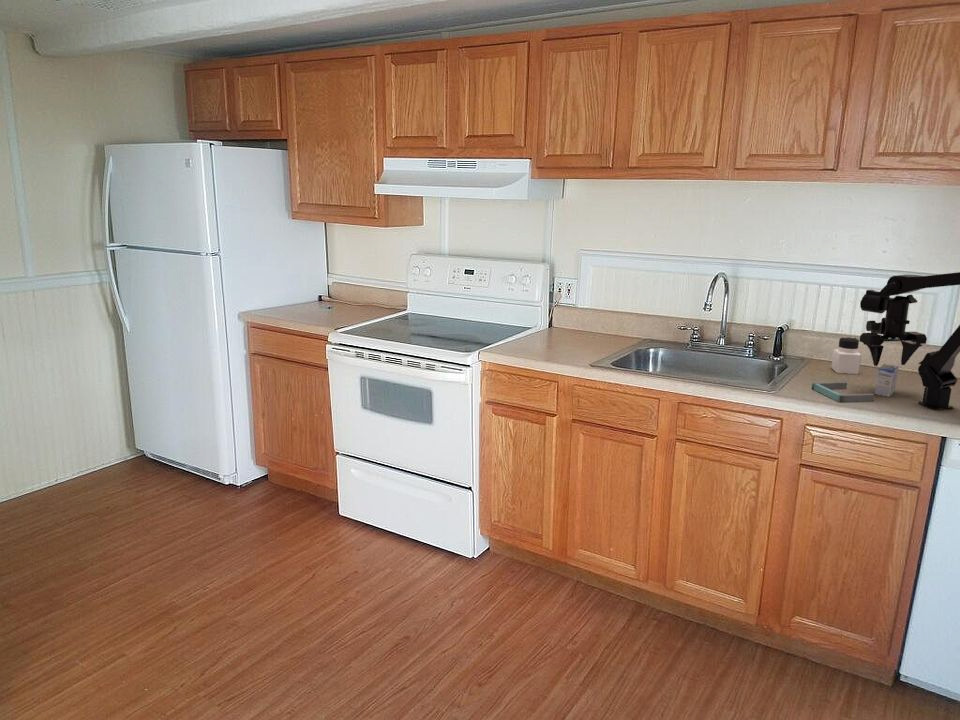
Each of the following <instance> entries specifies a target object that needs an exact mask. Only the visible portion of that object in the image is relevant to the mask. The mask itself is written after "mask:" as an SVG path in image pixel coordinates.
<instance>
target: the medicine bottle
mask: <svg viewBox="0 0 960 720" xmlns="http://www.w3.org/2000/svg"><path fill="white" fill-rule="evenodd" d="M859 344H860V339H858V338H857V337H853V336H851V337H850V336H842V337H840V338H839V341H838V347H837V348H834V349H833V357H832V363H831V369H833V371H834V372H836V373H837V374H844V373H847V375H848V374H849V375H859V374H860V370H861V362H862V361H861V360H862V354H861V353H860V352H859V351H858V350H859Z"/></svg>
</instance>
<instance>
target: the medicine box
mask: <svg viewBox="0 0 960 720" xmlns="http://www.w3.org/2000/svg"><path fill="white" fill-rule="evenodd" d="M898 375H899V365H894V364H891V363H883V364H882V365H881V366H880V367H879V368H878V369H877V375H876V382H875V388H874V395H875V394H877V395H876V396H880V395H882V396H881V397H885V396H887V398H890V397H891V396H892V395H893V393H894V392H895V391H896V386H897V382H898V381H897V380H898Z"/></svg>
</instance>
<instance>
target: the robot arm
mask: <svg viewBox="0 0 960 720" xmlns="http://www.w3.org/2000/svg"><path fill="white" fill-rule="evenodd" d="M952 286H960V271H959V272H957V271H956V272H950V273H943V274H942V273H941V274H932V275H931V274H930V275H917V274H899V275H898V274H897V275H892V276H890V277H889V278H888V280H887V282H886V285H885V286H883V288H882V289H881V290H880V291H879V290H874V289H866V290H865V294H864V295H863V296H862V298H861V300H860V305H859V307H860V309H861V311H862V312H868V313H869V312H870V313H874V314H875V313H876V314H884V313H885V317H882V319H881V321H880V322H876V320H867V321H866V324H865V330H866V332H862V333H861V334H860V337H859V343H863V345H865V346H866V347H868V349H869V352H870V355H871V359H872V361H873V366H876V367H878V365H879V363H880V360H881V356H882V353H883V350H884V345H882V344H883V343H884V342H900V343H901V346H902V351H901V358H900V359H901V360H900V364H901V366H905V365H906V364H907V363H908V361H909V360H910V359H911V357H912V356H913V354H915V352H917V350H918V349H919V348H920V347H922V346H923V345H924V344H927V341H928V337H927V335H926V334H925V333H921V332H918V331H914V330H913V331H906V328H907V327H906V326H907V325H910V322H911V321H910V320H908V313H909V306H910V304H916V303H918V300H917V299H916V298H915V297H914V295H913V294H910V293H914V292H918V291H920V290H923V289H929V288H939V287H952ZM904 294H907V295H906V296H905V295H904ZM903 295H904V296H903ZM893 296H894V297H893ZM959 354H960V324H959V325H958V326H957V328H955V330H954V331H953V333H952V334H951V335H950V336H949V338H948V339H947V340H946V342H945V343H944V344H943V345H942V347H940V349H939V350H936V351H930V352H927V353H926V354H925V355H924V357H923V359H922V360H921V361H920V362H918V365H919V366H918V369H917V371H918V375H919V377H920V379H921V383H922V386H923V387H924V391H923V397H922V400H918V404H920V405H923V406H924V407H927V408H929V409H932V410H948V409H951V410H952V409H954V406H952V405H950V398H951V396H952V394H951V393H952V388H951V387H955V385H956V384H957V382H958V378H957V377H956V375H954V373H953V372H952V369H953V368H954V365H955V361H956V359H957V356H958V355H959Z"/></svg>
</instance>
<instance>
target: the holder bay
mask: <svg viewBox="0 0 960 720" xmlns="http://www.w3.org/2000/svg"><path fill="white" fill-rule="evenodd" d="M847 386H848V382H847V381H827V382H812V384H811V390H813V389H814V391H815V390H816V392H817V391H818V392H817V393H819V392H820V393H819V394H821V393H822V394H821V395H823V394H824V396H825V395H826V396H825V397H827V396H828V398H829V397H830V399H831V398H832V399H831V400H834V401H836V402H838V403H855V402H856V403H858V402H857V401H861V402H874V400H875V393H851V394H841V393H839V392H836V391H835V390H842V389H843V390H844V389H845V388H846V389H847V388H848V387H847ZM846 389H845V390H846Z"/></svg>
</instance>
